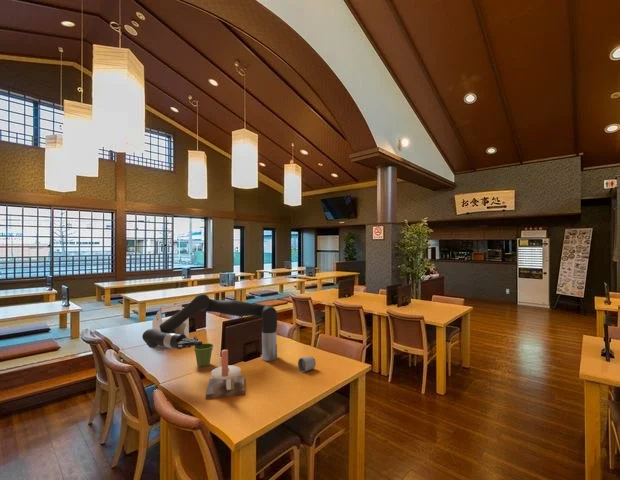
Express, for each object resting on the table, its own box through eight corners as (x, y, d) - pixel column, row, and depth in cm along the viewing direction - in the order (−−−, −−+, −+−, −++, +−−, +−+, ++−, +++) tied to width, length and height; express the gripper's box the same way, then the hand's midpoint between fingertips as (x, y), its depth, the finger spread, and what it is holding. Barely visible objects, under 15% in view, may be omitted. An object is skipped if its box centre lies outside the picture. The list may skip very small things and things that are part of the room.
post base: (244, 378, 165) (244, 364, 166) (244, 394, 148) (244, 377, 148) (209, 382, 162) (209, 367, 162) (205, 398, 144) (205, 381, 144)
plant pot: (207, 369, 180) (207, 349, 180) (189, 367, 182) (189, 348, 182) (217, 361, 191) (217, 343, 191) (200, 360, 194) (200, 342, 194)
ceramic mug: (316, 370, 176) (316, 356, 177) (305, 373, 171) (305, 360, 171) (305, 365, 184) (304, 352, 185) (294, 368, 179) (294, 355, 179)
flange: (221, 374, 164) (221, 341, 164) (245, 377, 160) (245, 343, 160) (204, 386, 149) (204, 351, 150) (230, 390, 145) (230, 353, 146)
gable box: (161, 347, 220) (161, 308, 221) (151, 344, 227) (151, 306, 228) (189, 339, 238) (189, 303, 239) (179, 336, 246) (179, 302, 246)
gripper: (164, 337, 155) (191, 340, 149) (184, 330, 168) (209, 332, 161) (165, 352, 155) (192, 355, 149) (184, 344, 167) (210, 347, 161)
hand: (201, 343), depth 155 cm, fingers closed
